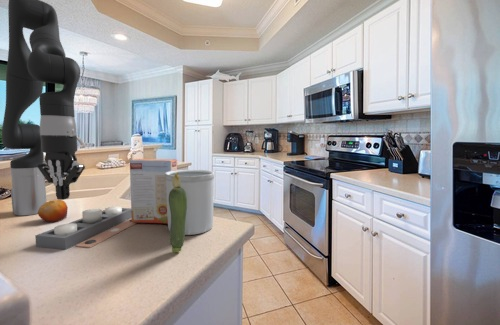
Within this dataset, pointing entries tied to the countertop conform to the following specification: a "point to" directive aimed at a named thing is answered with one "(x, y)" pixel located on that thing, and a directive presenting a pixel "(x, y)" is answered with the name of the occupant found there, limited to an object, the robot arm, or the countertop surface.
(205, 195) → the utensil holder
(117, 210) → the button
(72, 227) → the button
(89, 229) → the button board
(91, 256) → the countertop surface
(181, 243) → the vegetable
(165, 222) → the cracker box
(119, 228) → the pattern card
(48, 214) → the fruit
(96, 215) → the middle button
